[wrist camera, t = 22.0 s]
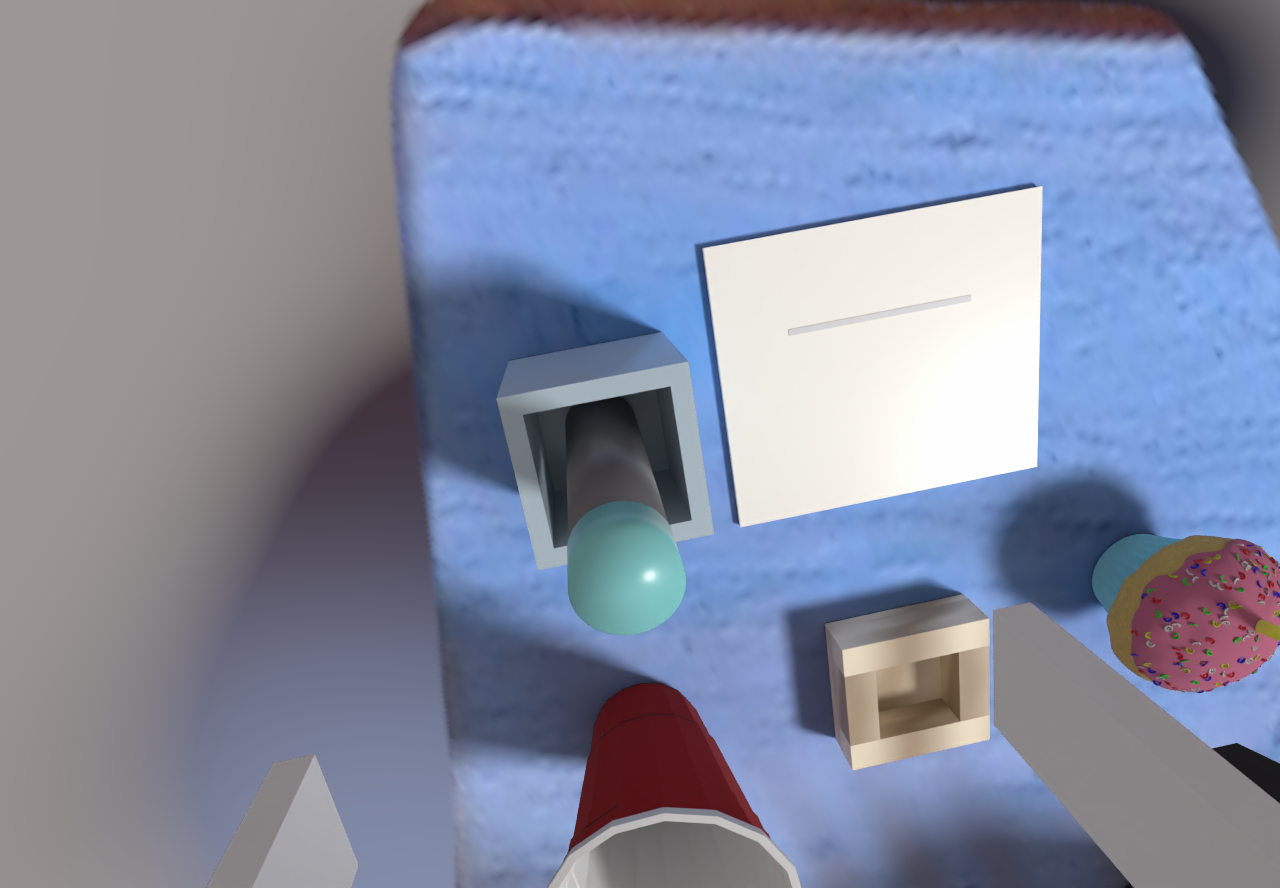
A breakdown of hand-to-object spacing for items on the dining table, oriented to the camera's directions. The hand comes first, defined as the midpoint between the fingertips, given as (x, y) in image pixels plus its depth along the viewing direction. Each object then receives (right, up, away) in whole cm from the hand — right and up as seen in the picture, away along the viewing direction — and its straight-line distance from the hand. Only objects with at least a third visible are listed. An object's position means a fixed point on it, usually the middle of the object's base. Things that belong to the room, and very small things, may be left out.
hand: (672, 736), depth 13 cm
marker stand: (+14, -7, +27) cm, 31 cm away
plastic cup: (-1, -10, +26) cm, 28 cm away
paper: (+11, +10, +21) cm, 25 cm away
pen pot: (-3, +7, +20) cm, 21 cm away
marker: (-2, +7, +19) cm, 20 cm away
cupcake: (+27, -2, +27) cm, 38 cm away
